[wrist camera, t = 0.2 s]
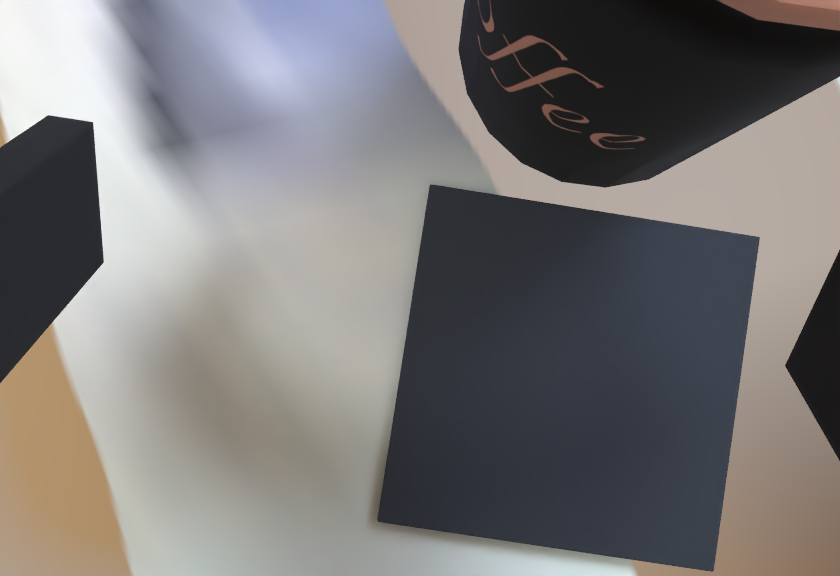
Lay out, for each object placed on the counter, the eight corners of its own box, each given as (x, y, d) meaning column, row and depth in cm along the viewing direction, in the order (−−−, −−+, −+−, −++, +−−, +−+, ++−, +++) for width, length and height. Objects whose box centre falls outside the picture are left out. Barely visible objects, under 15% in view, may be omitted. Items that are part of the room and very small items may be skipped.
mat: (710, 569, 30) (713, 572, 30) (377, 519, 30) (377, 521, 30) (756, 238, 31) (760, 237, 30) (429, 185, 30) (430, 184, 30)
